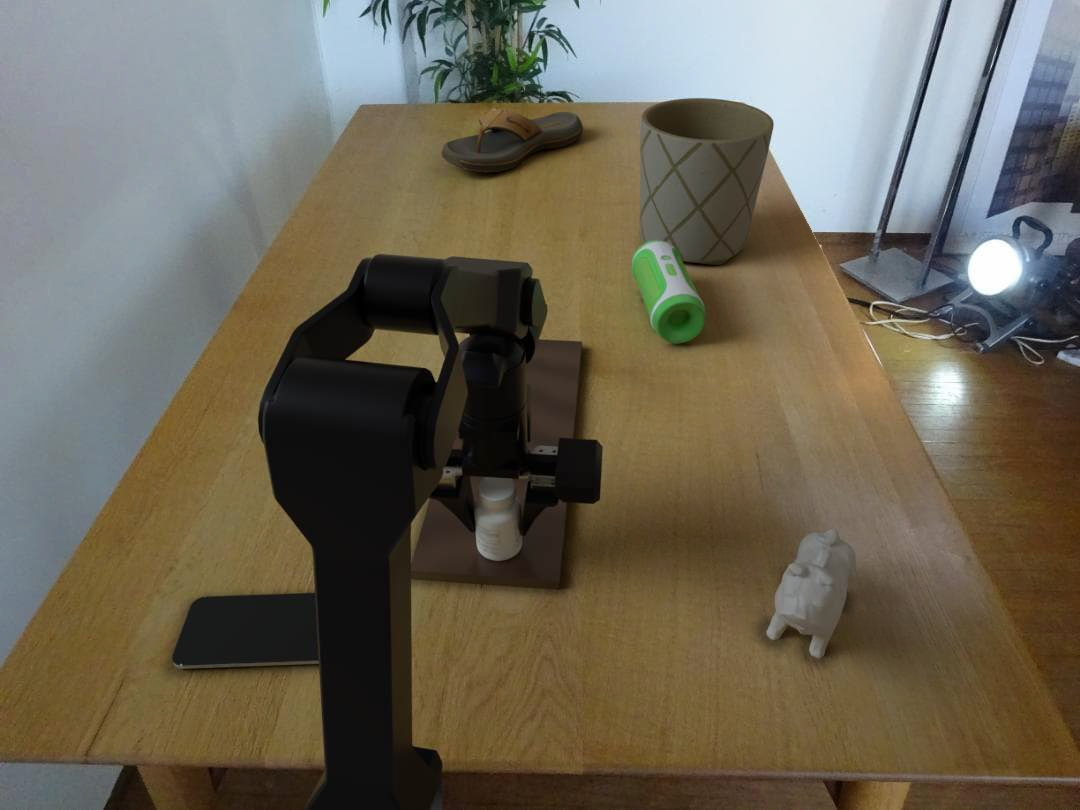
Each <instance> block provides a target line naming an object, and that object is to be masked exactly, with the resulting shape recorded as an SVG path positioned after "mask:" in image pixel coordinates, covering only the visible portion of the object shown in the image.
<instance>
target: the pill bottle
mask: <svg viewBox="0 0 1080 810" xmlns="http://www.w3.org/2000/svg"><path fill="white" fill-rule="evenodd" d="M474 519H475V530H476V542H477V548H478V550H479V552H480V553H481V554H482V555H483V556H484V557H485V558H487V559H490V560H494V561H503V560H507V559H510V558H512V557H513V556H515V555H516V554H517V553H518V552H519V551H520V549H521V547H522V536H521V532H520V526H521V520H522V515H521V504H520V501H519V499H518V498H517V497H516V486H515V483H514V481H513V480H512V479H509V478H493V477H485V478H483V479H482V480H481V481H480V483H479V485H478V499H477V500H476V502H475V505H474Z"/></svg>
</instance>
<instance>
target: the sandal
mask: <svg viewBox="0 0 1080 810" xmlns="http://www.w3.org/2000/svg"><path fill="white" fill-rule="evenodd" d="M484 112H485V114H483V115H481V116H480V117H478V122H479V124H480V127H479V132H478V134H474V135H469V136H464V137H460V138H459V137H458V138H457V139H453V140H450V141H447V142H446V143H444V144H443V146H442V149H441V156H442V158H443V159H444V160H445V161H446V162H447V163H449V164H451V165H453V166H456V167H457V168H460V169H463V170H466V171H470V172H476V173H498V172H503V171H507V170H511V169H514V168H516V167H517V166H518V165H520V164H521V162H522V161H524V160H525V158H527V157H528V156H530V155H531V154H534V153H535V152H538V151H542V150H545V149H546V150H550V149H558V148H562V147H566V146H568V145H571V144H572V143H574V142H576V141H577V140H579V139H581V137H582V135H583V133H584V126H583V123H582V121H581V120H582V119H581V118H580V117H579V116H578V115H577V114H575V113H573V112H569V111H558V112H553V113H551V114H548V115H545V116H541V117H538V118H537V117H536V118H530V119H529V118H527V117H526V116H524V115H522V114H519V113H516V112H513V111H509V110H504V109H500V108H498V107H496V106H495V107H493V108H492V109H490V110H489V111H488V110H485V111H484Z"/></svg>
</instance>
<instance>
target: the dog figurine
mask: <svg viewBox="0 0 1080 810" xmlns="http://www.w3.org/2000/svg"><path fill="white" fill-rule="evenodd" d="M856 568H857V556H856V553H855V550H854V549H853V548H852V546H851V545H850V544H849V543H848V542H846V541H845V540H843V539H841V538H840V535H839V530H837V529H836V528H830V529H827V530H826V531H823V532H822V531H817V532H810V533H809V534H807V535H806V536H804V537H803V539H802V540H801V541H800V544H799V546H798V550H797V553H796V559H795V560H794V561H793V563H789V565H787V568H786V570H785V571H784V573H783V575H782V578H781V583H780V584H779V585H778V587H777V589H776V592H775V594H774V608H775V612H774V614H773V616H772V618H771V620H770V623H769V625H768V627H767V629H766V636H767V637H768V638H769V639H770V640H772V641H778V640H779V639H781V637H782V635H783V633H784V632H785V631H786V630H787V628H788V626H790V627H792V628H793V629H795V630H797V631H798V632H799V634H800V635H804V636H807V635H809V636H812V638H811V641H810V644H809V649H808V651H809V655H810V656H812V657H813V658H816V659H821V658H823V657H824V656H825V652H826V649H827V647H828V644H829V642H830V641H829V640H830V639H831V637H832V636H833V633H834V632H835V629H836V628H837V625H838V623H839V621H840V619H841V617H842V613H843V609H844V607H845V603H846V600H847V592H848V589H849V585H850V582H851V579H852V578H853V577H854V575H855V573H856V571H857V570H856Z"/></svg>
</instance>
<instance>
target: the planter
mask: <svg viewBox="0 0 1080 810" xmlns="http://www.w3.org/2000/svg"><path fill="white" fill-rule="evenodd" d="M774 126H775V123H774V119H773V118H772V117H771V116H770V115H769V114H768V113H767V112H765V111H764V110H761V109H760V108H758V107H755V106H753V105H749V104H746V103H743V102H738V101H734V100H729V99H720V98H710V97H709V98H707V97H687V98H677V99H671V100H665V101H661V102H658V103H656V104H653V105H651V106H649V107H648V108H646V109H645V110H644V111H643V112H642V114H641V117H640V149H639V151H640V153H639V154H640V156H639V158H640V159H639V160H640V161H639V165H640V166H639V177H640V178H639V238H640V240H641V242H642V245H643V244H644V243H646V242H648V241H651V240H662V241H665V242H667V243H669V244H671V245H672V246H674V247H675V248H676V249H677V250H678V252H679V253H680V255H681V258H682V262H683V263H684V262H686V263H693V264H702V265H703V264H705V265H715V266H722V265H725V263H726V262H727V261H729V259H730V258H732V257H734V256H735V255H737V254H738V253H740V252H741V251H743V249H745V247H746V245H747V241H748V238H749V234H750V229H751V225H752V221H753V216H754V212H755V209H756V204H757V199H758V195H759V192H760V188H761V183H762V178H763V175H764V170H765V167H766V162H767V157H768V155H769V154H768V153H769V149H770V144H771V141H772V136H773V131H774Z"/></svg>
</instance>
